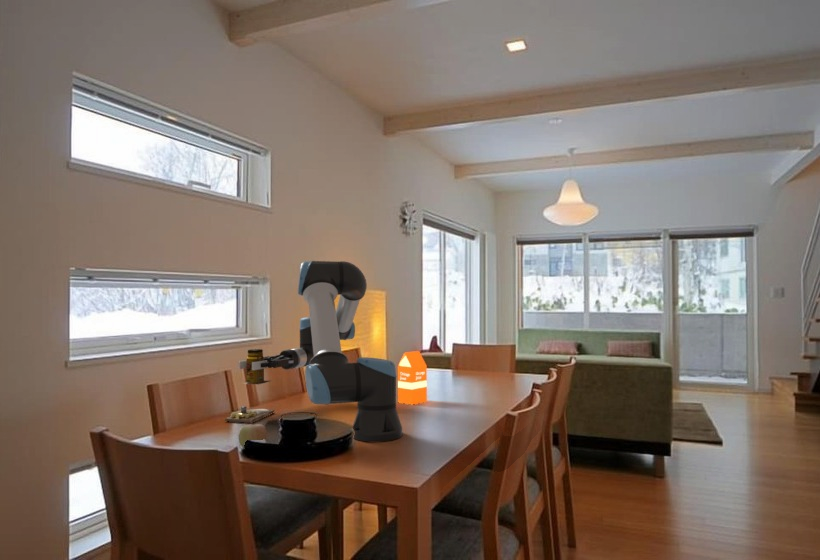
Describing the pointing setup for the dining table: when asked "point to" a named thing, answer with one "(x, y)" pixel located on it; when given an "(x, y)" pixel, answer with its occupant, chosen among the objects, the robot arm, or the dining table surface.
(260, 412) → the gear board
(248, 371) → the condiment
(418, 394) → the orange juice
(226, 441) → the dining table surface
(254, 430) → the fruit
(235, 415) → the gear
